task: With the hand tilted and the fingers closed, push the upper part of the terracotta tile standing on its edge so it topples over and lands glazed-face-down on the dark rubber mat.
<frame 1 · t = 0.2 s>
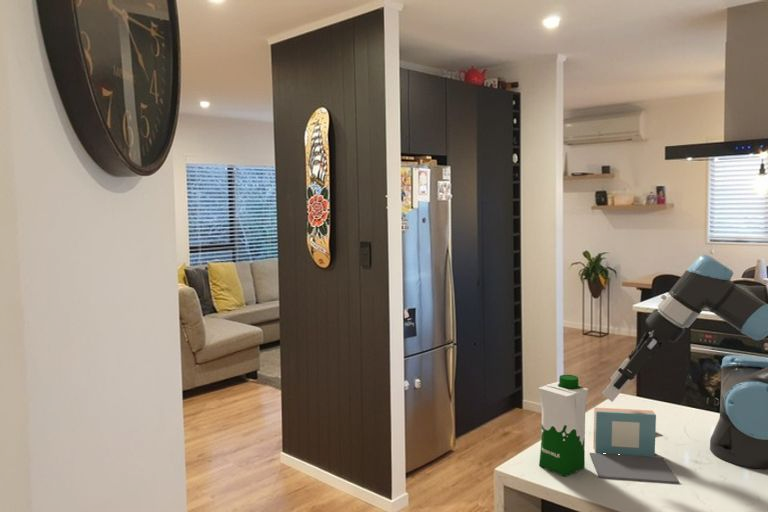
hand: (611, 389, 135), 15 cm above the countertop, tool tilted 35°, fingers open, 13 cm apart
terracotta tile: (623, 452, 137), on the countertop
milk carton: (561, 467, 130), on the countertop
rubber mat: (632, 468, 129), on the countertop
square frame: (622, 433, 150), on the countertop
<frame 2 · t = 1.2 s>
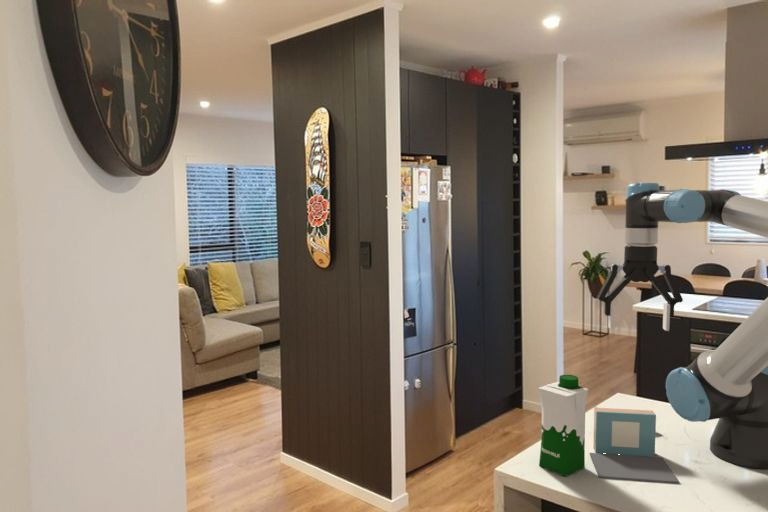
hand: (638, 329, 148), 27 cm above the countertop, tool pointing down, fingers open, 12 cm apart
nothing on the countertop moved.
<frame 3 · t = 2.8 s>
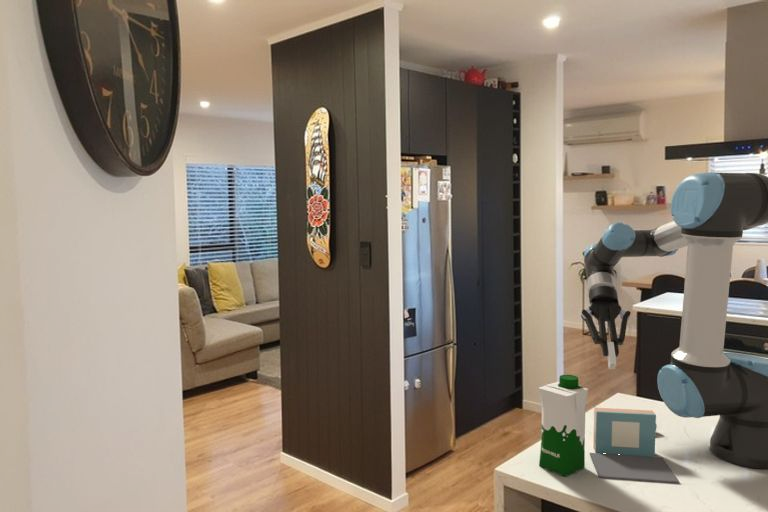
hand: (612, 366, 149), 17 cm above the countertop, tool tilted 45°, fingers closed
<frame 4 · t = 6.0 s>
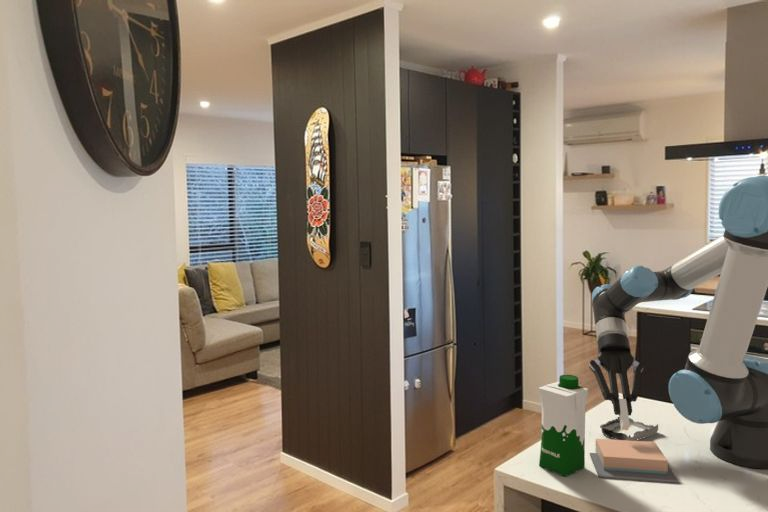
hand: (625, 427, 134), 7 cm above the countertop, tool tilted 45°, fingers closed
terracotta tile: (624, 446, 136), point 2 cm above the countertop, tilted 90°, touching rubber mat
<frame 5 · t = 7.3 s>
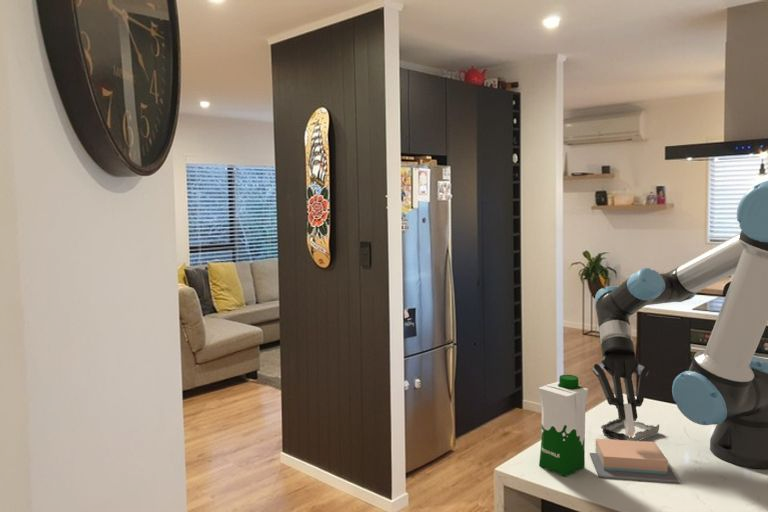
hand: (630, 433, 130), 7 cm above the countertop, tool tilted 45°, fingers closed
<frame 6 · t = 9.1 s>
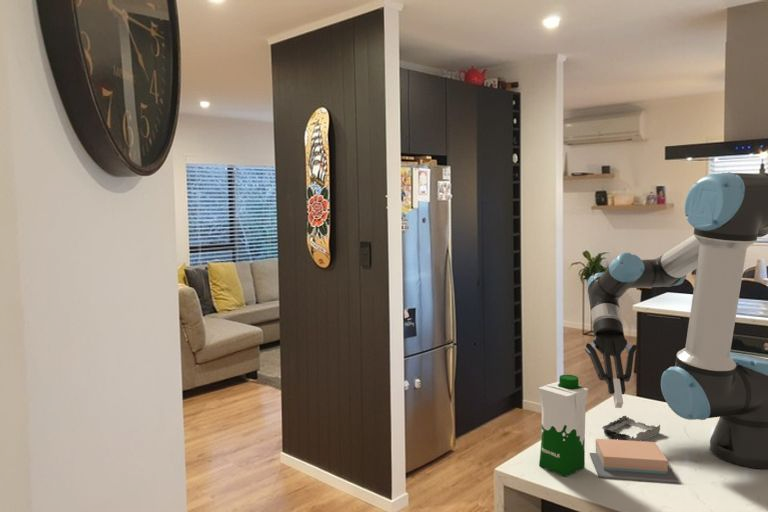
hand: (619, 405, 142), 9 cm above the countertop, tool tilted 45°, fingers closed
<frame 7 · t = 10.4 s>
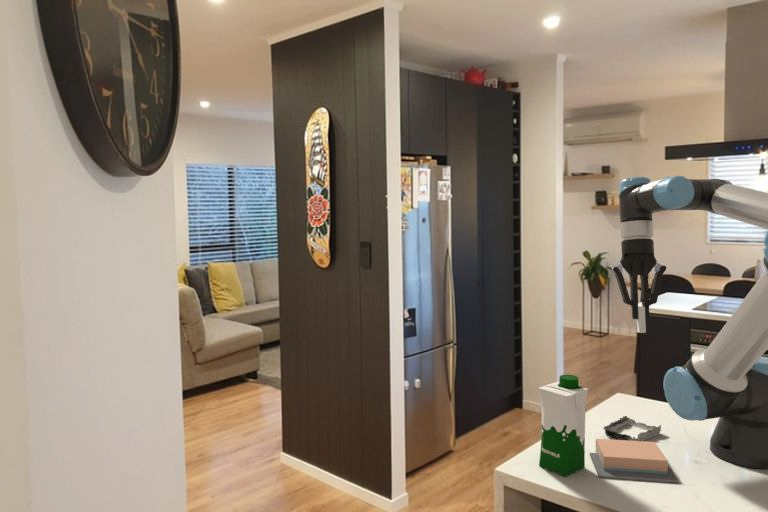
hand: (641, 332, 147), 26 cm above the countertop, tool pointing down, fingers closed
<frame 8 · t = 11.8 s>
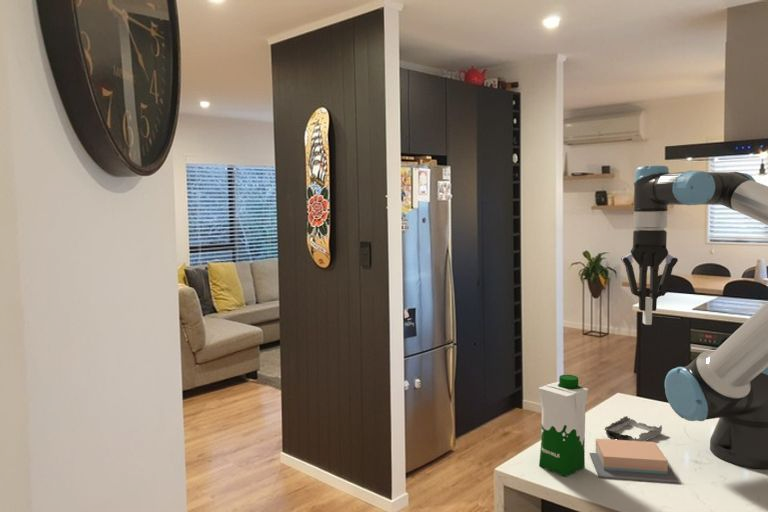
hand: (647, 323, 146), 28 cm above the countertop, tool pointing down, fingers closed
at the end: terracotta tile tilted 90°; terracotta tile inside the target area (7.4 cm from its centre), point 1.9 cm above the countertop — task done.
